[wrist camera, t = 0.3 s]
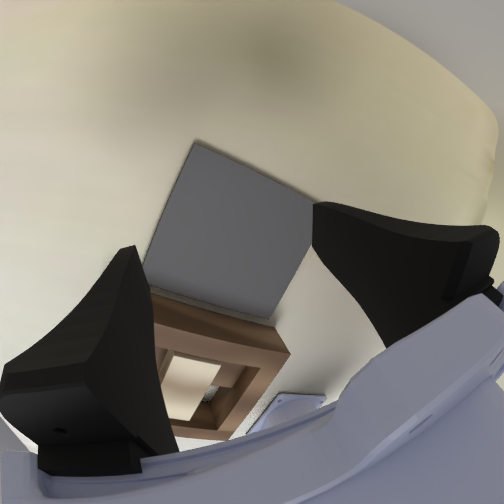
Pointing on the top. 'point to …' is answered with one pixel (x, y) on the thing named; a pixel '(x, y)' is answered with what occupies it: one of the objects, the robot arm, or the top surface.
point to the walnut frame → (230, 356)
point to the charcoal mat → (229, 236)
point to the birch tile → (185, 382)
